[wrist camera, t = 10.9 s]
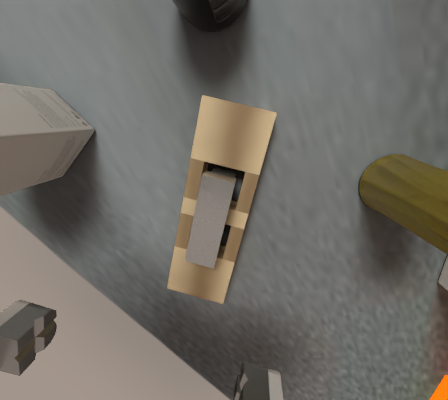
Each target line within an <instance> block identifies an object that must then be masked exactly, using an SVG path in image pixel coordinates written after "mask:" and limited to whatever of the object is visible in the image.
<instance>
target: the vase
mask: <svg viewBox="0 0 448 400" xmlns="http://www.w3.org/2000/svg"><path fill="white" fill-rule="evenodd" d="M359 191H360V196H361V198H362V200H363V201H364V203H365V204H366V205H367V206H369V207H370V208H372V209H374V210H376V211H378V212H380V213H381V214H383V215H385V216H386V217H388V218H390V219H391V220H393V221H395V222H396V223H398V224H400V225H402V226H403V227H405V228H407V229H408V230H410V231H411V232H413V233H414V234H416V235H417V236H419V237H420V238H422V239H424V240H425V241H427V242H428V243H430V244H432V245H433V246H435V247H436V248H438V249H440V250H441V251H443V252H444V253H446V254H447V255H448V171H447V170H443V169H440V168H437V167H434V166H431V165H429V164H426V163H423V162H421V161H418V160H415V159H413V158H411V157H409V156H406V155H397V154H394V155H388V156H385V157H382V158H380V159H378V160H377V161H375V162H373V163H372V164H371V165H370V166H369V167H368V168H367V169H366V170H365V171H364V173H363V175H362V177H361V179H360V185H359Z"/></svg>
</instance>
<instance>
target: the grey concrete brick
mask: <svg viewBox="0 0 448 400" xmlns="http://www.w3.org/2000/svg"><path fill="white" fill-rule="evenodd" d="M235 175H236V173H235V172H231V171H227V170H223V169H219V168H214V169H213V171H212V172H209V171H206V172H204V173H203V174H202V177H201V182H200V187H199V192H198V197H197V202H196V207H195V212H194V217H193V222H192V227H191V232H190V237H189V242H188V247H187V252H186V257H185V261H187V262H191V263H194V264H198V265H202V266H206V267H209V268H213V269H214V266H215V263H216V259H217V255H218V251H219V247H220V243H221V239H222V235H223V231H224V227H225V223H226V219H227V215H228V211H229V207H230V203H231V199H232V195H233V191H234V187H235V183H236V179H237V178H235Z"/></svg>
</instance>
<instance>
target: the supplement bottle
mask: <svg viewBox="0 0 448 400" xmlns="http://www.w3.org/2000/svg"><path fill="white" fill-rule="evenodd" d="M173 2H174V3H175V5H176V6H177V8H178V9H179V11H180V12H181V13H182V15H183V16H184V17H185V19H186V20H187V21H188V22H189V23H190V24H191V25H193V26H194V27H195V28H197V29H199V30H202V31H206V32H216V31H220V30H223V29H225V28H227V27H229V26H230V25H232V24H233V23H234V22H235V21H236V20H237V19H238V17H239V16H240V15H241V13H242V11H243V10H244V8H245V5H246V3H247V0H173Z"/></svg>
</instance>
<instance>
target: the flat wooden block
mask: <svg viewBox="0 0 448 400" xmlns="http://www.w3.org/2000/svg"><path fill="white" fill-rule="evenodd" d="M276 114H277V113H276V112H272V111H267V110H263V109H259V108H255V107H251V106H246V105H242V104H238V103H234V102H230V101H225V100H221V99H217V98H213V97H209V96H204V95H202V99H201V104H200V110H199V115H198V121H197V126H196V132H195V137H194V143H193V148H192V154H191V159H190V165H189V170H188V176H187V181H186V187H185V192H184V198H183V203H182V209H181V214H180V219H179V225H178V230H177V236H176V241H175V247H174V252H173V258H172V263H171V269H170V274H169V280H168V285H167V288H168V289H171V290H175V291H178V292H182V293H185V294H189V295H193V296H196V297H200V298H203V299H207V300H210V301H214V302H217V303H221V304H223V302H224V299H225V295H226V292H227V288H228V285H229V281H230V277H231V274H232V270H233V267H234V263H235V260H236V256H237V253H238V249H239V246H240V242H241V238H242V235H243V231H244V228H245V224H246V221H247V217H248V214H249V210H250V207H251V203H252V199H253V196H254V192H255V189H256V185H257V182H258V178H259V175H260V171H261V168H262V164H263V160H264V157H265V153H266V150H267V146H268V143H269V139H270V136H271V132H272V129H273V125H274V121H275V118H276ZM209 163H213V164H217V165H221V166H225V167H229V168H233V169H237V170H241V171H245V175H244V178H243V182H242V186H241V190H240V194H239V198H238V201H237V202H236V201H232V200H231V203H230V207H229V211H228V215H227V219H226V223H225V224H226V225H230V226H231V228H230V232H229V236H228V240H227V243H226V246H222V245H220V247H219V251H218V255H217V259H216V263H215V266H214V269H213V268H209V267H206V266H202V265H198V264H194V263H191V262H187V261H185V257H186V252H187V247H188V242H189V237H190V232H191V227H192V222H193V217H194V212H195V207H196V202H197V197H198V192H199V187H200V182H201V177H202V174H203V173H204V172H206V171H207V168H208V164H209Z"/></svg>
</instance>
